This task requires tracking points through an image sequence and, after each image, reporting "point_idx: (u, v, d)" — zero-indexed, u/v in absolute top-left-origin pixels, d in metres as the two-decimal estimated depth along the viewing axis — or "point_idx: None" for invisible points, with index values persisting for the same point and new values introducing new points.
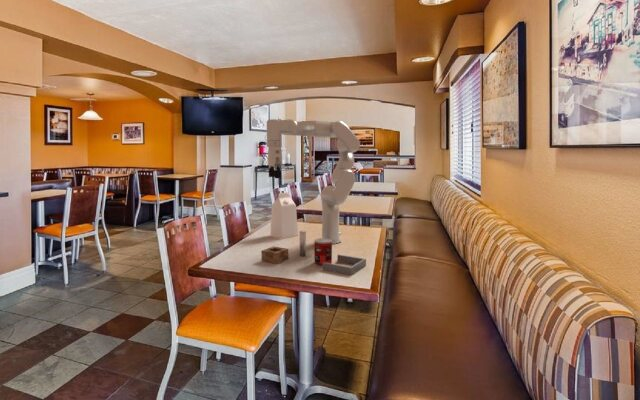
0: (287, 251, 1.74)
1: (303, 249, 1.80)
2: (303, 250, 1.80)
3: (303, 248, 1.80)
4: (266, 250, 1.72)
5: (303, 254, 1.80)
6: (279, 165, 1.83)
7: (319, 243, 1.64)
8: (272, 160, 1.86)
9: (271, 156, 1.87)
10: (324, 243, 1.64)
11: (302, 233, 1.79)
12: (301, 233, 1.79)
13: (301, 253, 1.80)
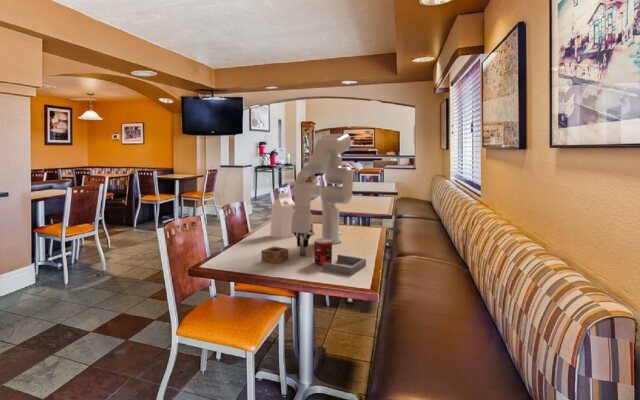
0: (287, 251, 1.74)
1: (303, 249, 1.80)
2: (303, 250, 1.80)
3: (303, 248, 1.80)
4: (266, 250, 1.72)
5: (303, 254, 1.80)
6: None
7: (319, 243, 1.64)
8: None
9: None
10: (324, 243, 1.64)
11: None
12: (301, 233, 1.79)
13: (301, 253, 1.80)
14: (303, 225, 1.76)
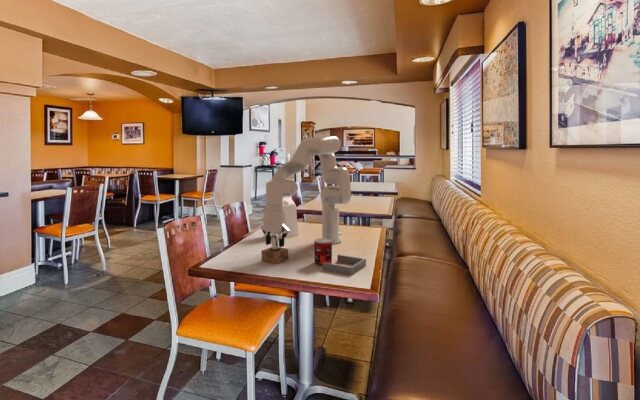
0: (287, 251, 1.74)
1: None
2: None
3: None
4: (266, 250, 1.72)
5: None
6: None
7: (319, 243, 1.64)
8: None
9: None
10: (324, 243, 1.64)
11: (274, 237, 1.71)
12: (273, 237, 1.71)
13: None
14: (275, 224, 1.68)
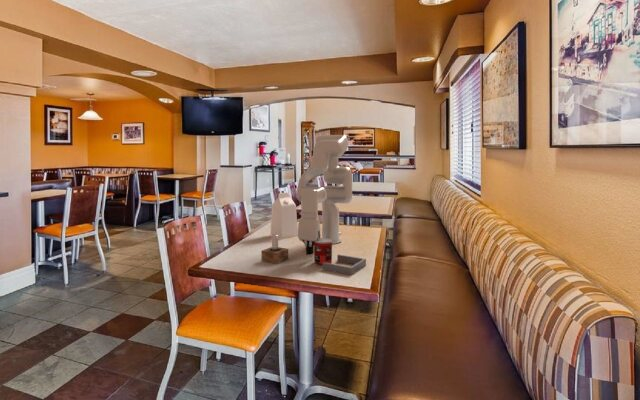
0: (287, 251, 1.74)
1: None
2: None
3: None
4: (266, 250, 1.72)
5: None
6: None
7: (319, 243, 1.64)
8: None
9: None
10: (324, 243, 1.64)
11: (274, 237, 1.71)
12: (273, 237, 1.71)
13: None
14: (310, 232, 1.67)
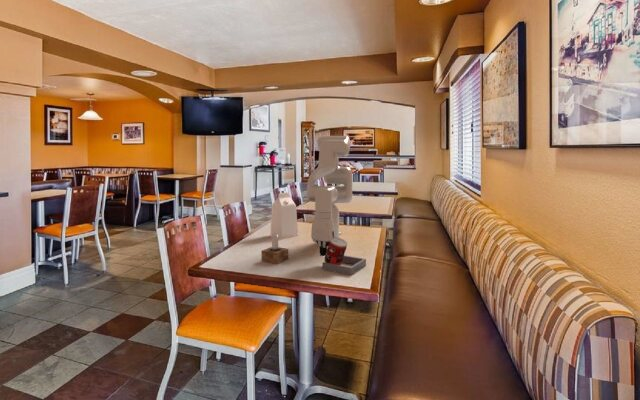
0: (287, 251, 1.74)
1: None
2: None
3: None
4: (266, 250, 1.72)
5: None
6: None
7: (334, 245, 1.59)
8: None
9: None
10: (339, 246, 1.59)
11: (274, 237, 1.71)
12: (273, 237, 1.71)
13: None
14: (324, 232, 1.63)
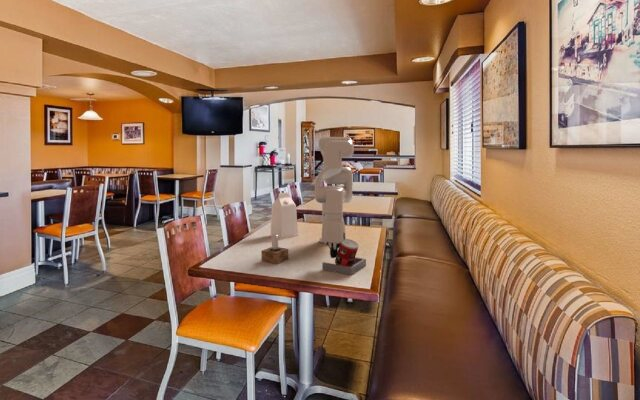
0: (287, 251, 1.74)
1: None
2: None
3: None
4: (266, 250, 1.72)
5: None
6: None
7: (345, 247, 1.57)
8: None
9: None
10: (350, 248, 1.56)
11: (274, 236, 1.71)
12: (273, 236, 1.71)
13: None
14: (335, 234, 1.60)
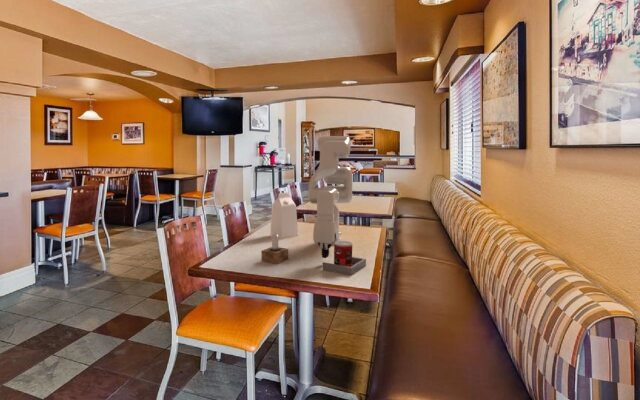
0: (287, 251, 1.74)
1: None
2: None
3: None
4: (266, 250, 1.72)
5: None
6: None
7: (339, 246, 1.59)
8: None
9: None
10: (344, 246, 1.59)
11: (274, 236, 1.71)
12: (273, 236, 1.71)
13: None
14: (326, 234, 1.63)
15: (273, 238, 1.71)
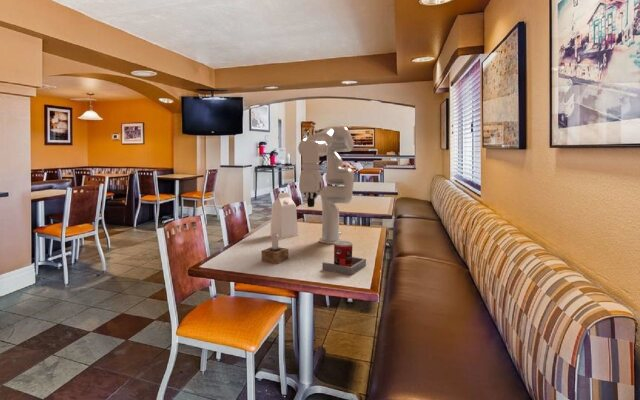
0: (287, 251, 1.74)
1: None
2: None
3: None
4: (266, 250, 1.72)
5: None
6: None
7: (339, 246, 1.59)
8: None
9: None
10: (344, 246, 1.59)
11: (274, 237, 1.71)
12: (273, 237, 1.71)
13: None
14: (312, 183, 1.69)
15: (273, 238, 1.71)
